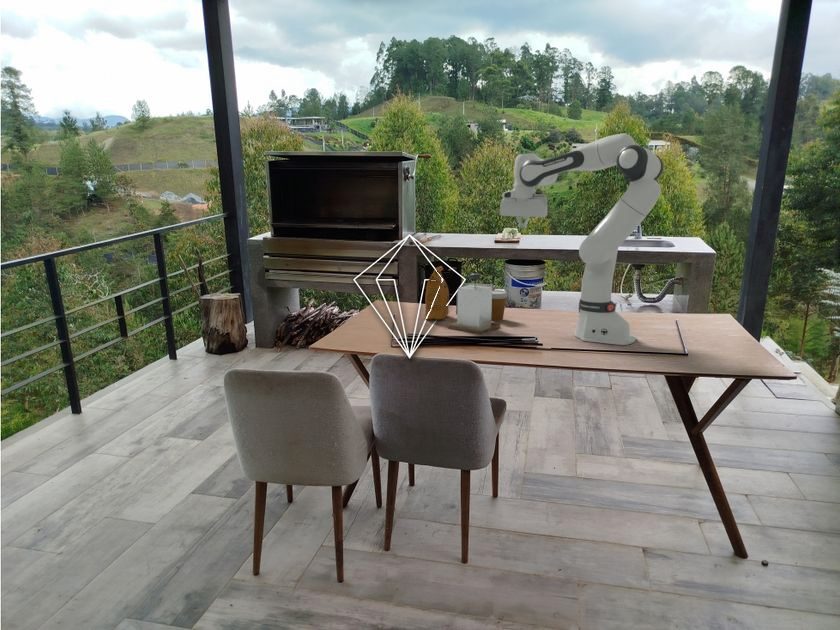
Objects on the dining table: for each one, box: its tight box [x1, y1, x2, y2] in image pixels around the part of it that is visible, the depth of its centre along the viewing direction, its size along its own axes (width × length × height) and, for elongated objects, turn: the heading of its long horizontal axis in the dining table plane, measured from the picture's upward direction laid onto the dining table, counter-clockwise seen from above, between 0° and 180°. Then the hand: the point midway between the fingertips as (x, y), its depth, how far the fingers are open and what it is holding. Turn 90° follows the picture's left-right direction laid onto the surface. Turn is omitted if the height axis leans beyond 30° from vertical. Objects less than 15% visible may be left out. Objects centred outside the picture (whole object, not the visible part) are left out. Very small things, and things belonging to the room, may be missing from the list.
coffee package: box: [424, 265, 450, 321], centre depth 259 cm, size 10×12×22 cm
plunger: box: [469, 272, 482, 288], centre depth 241 cm, size 8×8×18 cm
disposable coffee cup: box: [491, 289, 508, 322], centre depth 257 cm, size 10×10×12 cm
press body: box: [447, 284, 501, 335], centre depth 242 cm, size 16×14×16 cm
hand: (522, 227), depth 251 cm, fingers closed
